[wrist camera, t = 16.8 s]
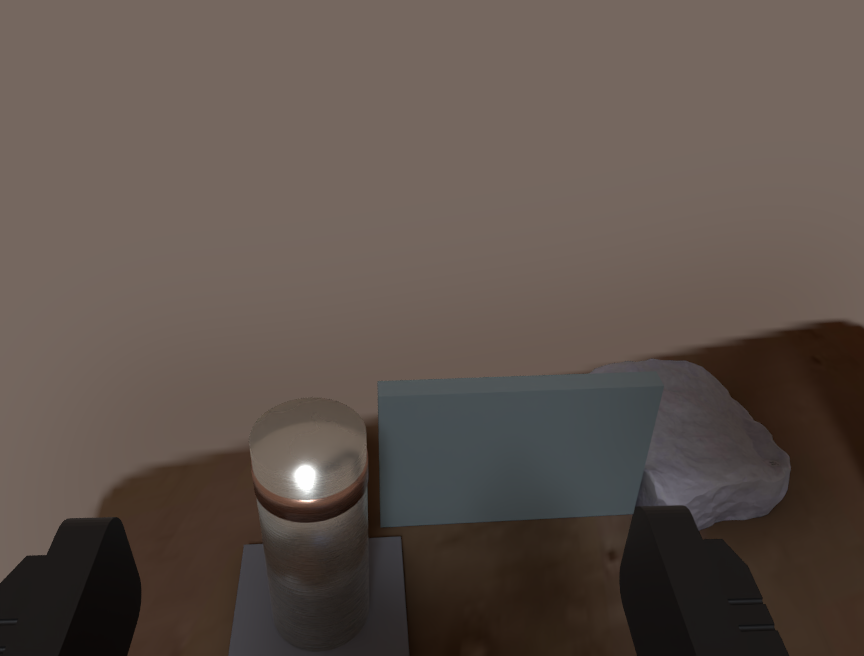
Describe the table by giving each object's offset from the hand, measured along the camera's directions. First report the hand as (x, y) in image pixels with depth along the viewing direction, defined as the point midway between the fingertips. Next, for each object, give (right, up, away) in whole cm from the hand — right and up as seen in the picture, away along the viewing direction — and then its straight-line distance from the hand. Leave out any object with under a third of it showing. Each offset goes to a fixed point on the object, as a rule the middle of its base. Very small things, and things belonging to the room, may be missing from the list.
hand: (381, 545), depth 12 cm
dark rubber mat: (-5, -10, +25) cm, 27 cm away
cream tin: (-4, -10, +24) cm, 26 cm away
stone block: (+16, -5, +35) cm, 39 cm away
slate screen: (+5, -7, +30) cm, 32 cm away
